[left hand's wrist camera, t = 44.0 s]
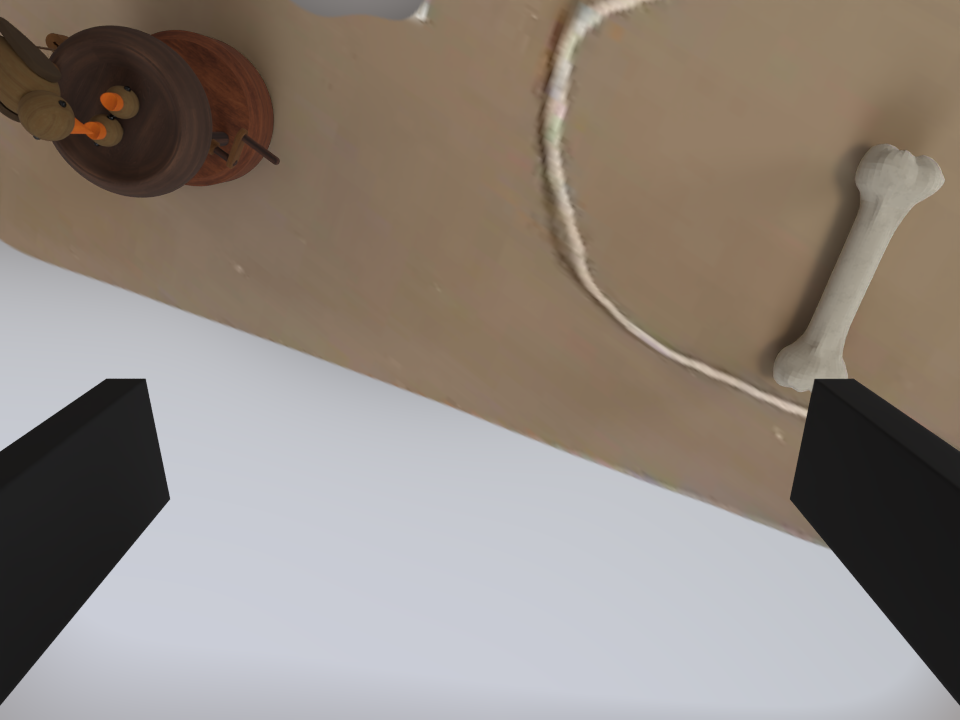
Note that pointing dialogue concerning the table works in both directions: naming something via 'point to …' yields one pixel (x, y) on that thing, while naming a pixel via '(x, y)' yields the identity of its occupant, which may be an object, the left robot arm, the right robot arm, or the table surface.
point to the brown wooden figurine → (139, 106)
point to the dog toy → (857, 261)
